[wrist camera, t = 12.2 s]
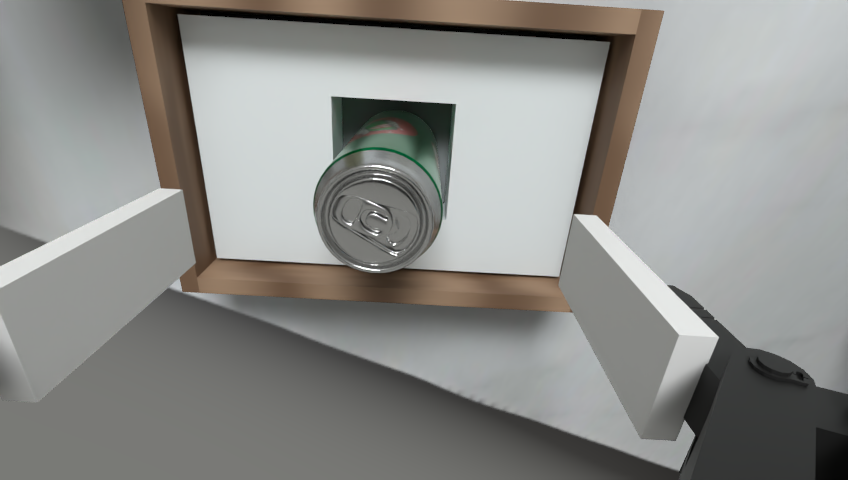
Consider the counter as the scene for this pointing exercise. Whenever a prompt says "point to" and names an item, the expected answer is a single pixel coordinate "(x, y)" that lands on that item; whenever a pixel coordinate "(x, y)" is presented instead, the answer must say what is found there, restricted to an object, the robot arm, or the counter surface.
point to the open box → (404, 5)
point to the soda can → (382, 195)
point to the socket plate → (391, 80)
